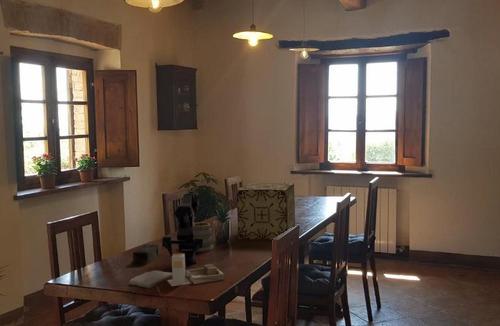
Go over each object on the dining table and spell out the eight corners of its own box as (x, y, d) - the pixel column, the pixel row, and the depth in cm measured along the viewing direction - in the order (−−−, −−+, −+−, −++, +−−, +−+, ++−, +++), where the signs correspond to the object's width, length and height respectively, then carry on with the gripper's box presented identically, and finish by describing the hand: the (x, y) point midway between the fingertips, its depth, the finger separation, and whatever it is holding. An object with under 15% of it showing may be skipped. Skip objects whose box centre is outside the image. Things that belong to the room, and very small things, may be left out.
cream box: (174, 280, 229) (173, 253, 228) (185, 279, 229) (184, 253, 228) (172, 283, 223) (171, 256, 222) (184, 283, 223) (183, 256, 222)
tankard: (217, 249, 284) (216, 222, 283) (196, 252, 278) (195, 225, 276) (201, 242, 301) (200, 217, 300) (181, 245, 295) (180, 220, 293)
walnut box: (204, 273, 237) (203, 264, 237) (212, 272, 239) (212, 263, 239) (208, 277, 231) (208, 268, 231) (217, 276, 232) (216, 267, 232)
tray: (185, 276, 235) (185, 270, 235) (214, 272, 241) (214, 266, 240) (194, 285, 222) (193, 278, 222) (224, 280, 228) (224, 274, 227)
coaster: (167, 281, 229) (167, 280, 229) (186, 278, 232) (186, 277, 232) (171, 287, 220) (171, 286, 220) (192, 284, 224) (191, 283, 224)
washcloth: (174, 277, 236) (174, 271, 236) (149, 289, 220) (149, 282, 220) (154, 274, 241) (154, 268, 241) (128, 286, 226) (128, 279, 225)
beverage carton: (159, 255, 276) (158, 243, 275) (147, 265, 257) (146, 252, 256) (145, 255, 277) (144, 243, 276) (132, 265, 258) (131, 252, 257)
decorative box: (238, 239, 307) (236, 189, 305) (250, 228, 336) (248, 183, 334) (287, 240, 300) (286, 189, 298) (295, 229, 329) (294, 183, 327)
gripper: (163, 219, 235) (161, 250, 226) (204, 221, 237) (203, 252, 228) (163, 231, 244) (161, 261, 235) (202, 233, 246) (201, 262, 237)
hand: (181, 259), depth 233 cm, fingers open, 9 cm apart
